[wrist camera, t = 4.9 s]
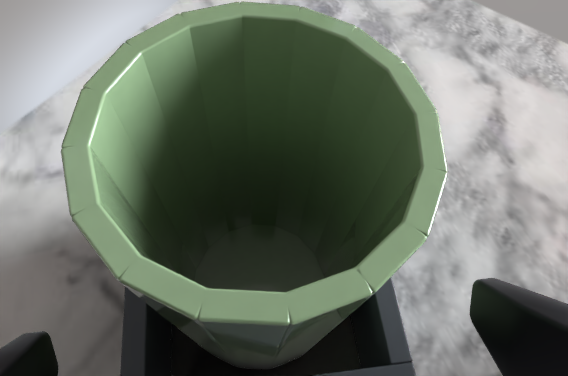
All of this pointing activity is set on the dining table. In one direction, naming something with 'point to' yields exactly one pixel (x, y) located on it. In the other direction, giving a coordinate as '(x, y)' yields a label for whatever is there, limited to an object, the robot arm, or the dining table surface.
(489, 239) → the dining table surface
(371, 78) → the green cup
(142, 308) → the cup holder
